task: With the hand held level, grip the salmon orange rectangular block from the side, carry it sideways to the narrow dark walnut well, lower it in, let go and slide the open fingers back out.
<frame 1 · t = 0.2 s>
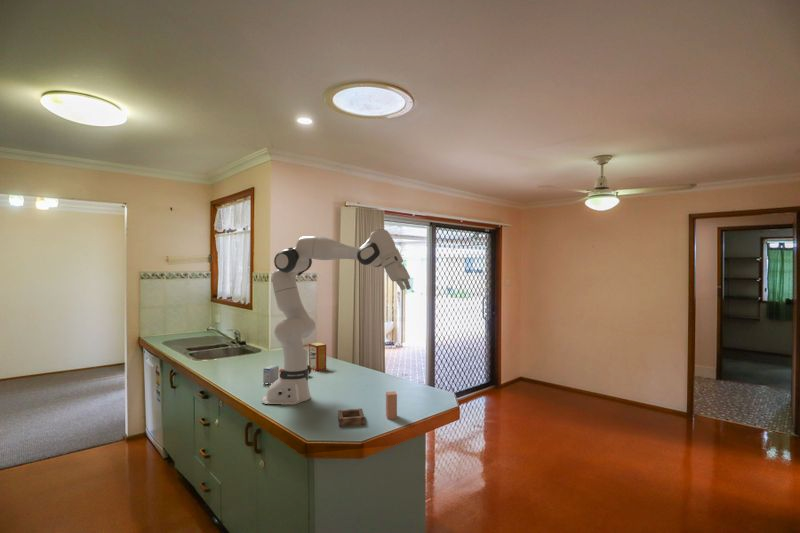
hand: (406, 289, 171), 53 cm above the worktop, tool tilted 25°, fingers open, 8 cm apart
salmon orange rectangular block: (391, 416, 163), on the worktop
medicine box: (271, 383, 213), on the worktop
walnut well: (351, 420, 158), on the worktop
potato: (300, 376, 226), on the worktop
baking soda box: (317, 369, 243), on the worktop
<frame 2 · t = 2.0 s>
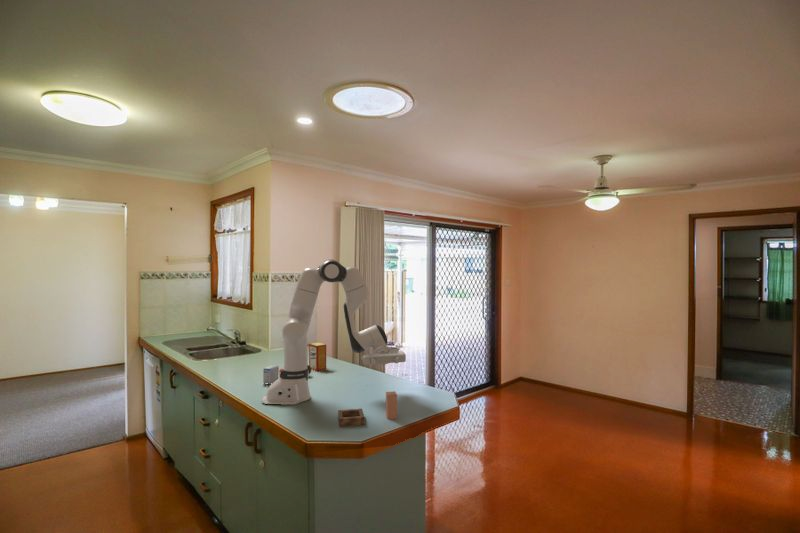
hand: (386, 362, 175), 20 cm above the worktop, tool horizontal, fingers open, 8 cm apart
nothing on the worktop moved.
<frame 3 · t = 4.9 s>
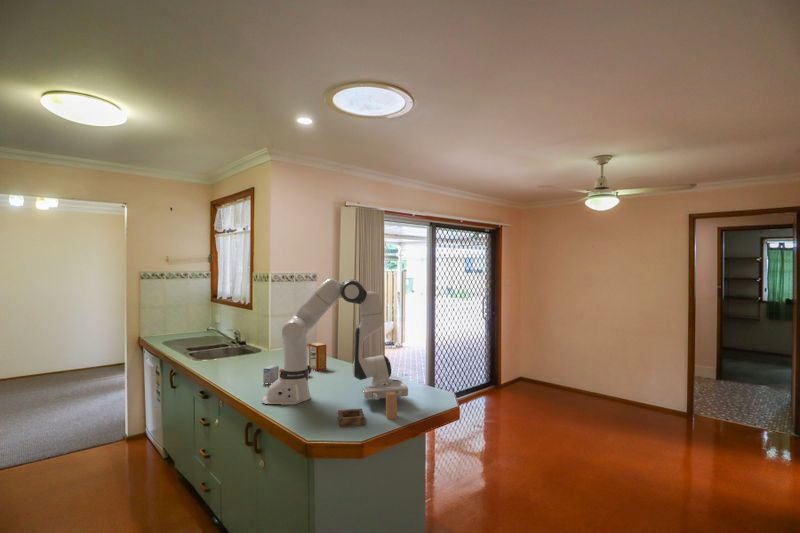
hand: (388, 397, 170), 6 cm above the worktop, tool horizontal, fingers open, 8 cm apart
nothing on the worktop moved.
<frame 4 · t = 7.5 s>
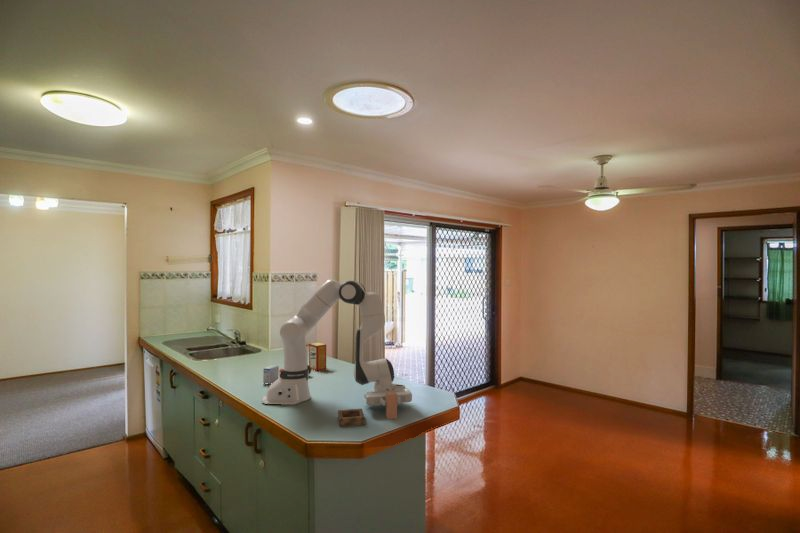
hand: (391, 403, 162), 6 cm above the worktop, tool horizontal, fingers closed on salmon orange rectangular block, 4 cm apart
salmon orange rectangular block: (391, 416, 163), on the worktop, touching gripper
everything else where it was.
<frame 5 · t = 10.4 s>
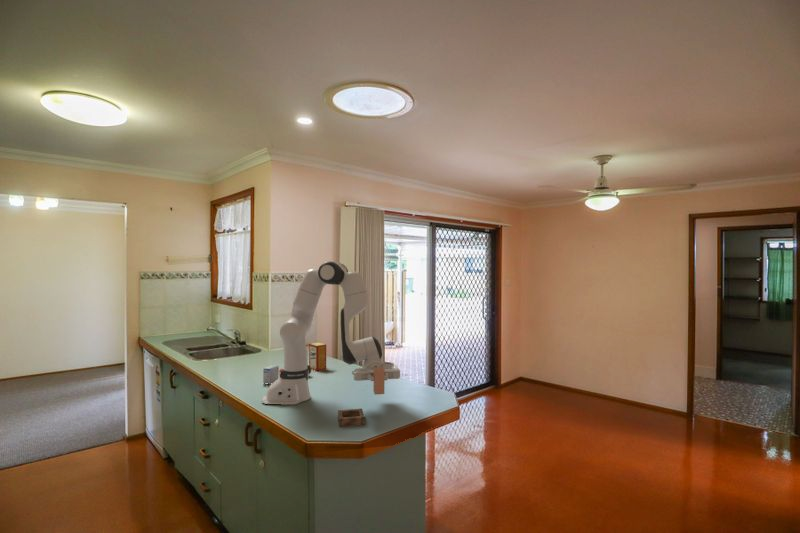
hand: (379, 378, 161), 17 cm above the worktop, tool horizontal, fingers closed on salmon orange rectangular block, 4 cm apart
salmon orange rectangular block: (378, 392, 162), point 11 cm above the worktop, touching gripper
everything else where it was.
when the fingers open (7 cm above the worktop, at t = 13.7 s): salmon orange rectangular block drops 1 cm, resting in walnut well.
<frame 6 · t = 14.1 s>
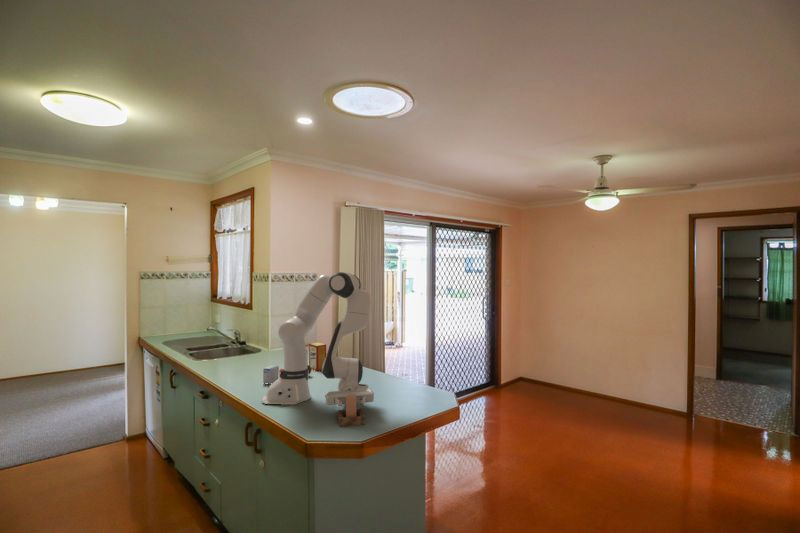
hand: (351, 403, 158), 7 cm above the worktop, tool horizontal, fingers open, 8 cm apart
salmon orange rectangular block: (351, 421, 158), resting in walnut well
everything else where it was.
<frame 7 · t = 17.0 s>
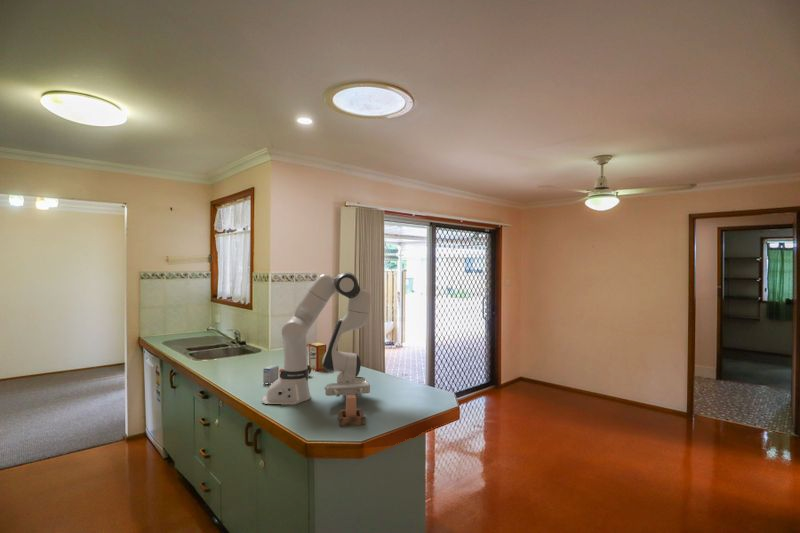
hand: (348, 394, 170), 7 cm above the worktop, tool horizontal, fingers open, 8 cm apart
nothing on the worktop moved.
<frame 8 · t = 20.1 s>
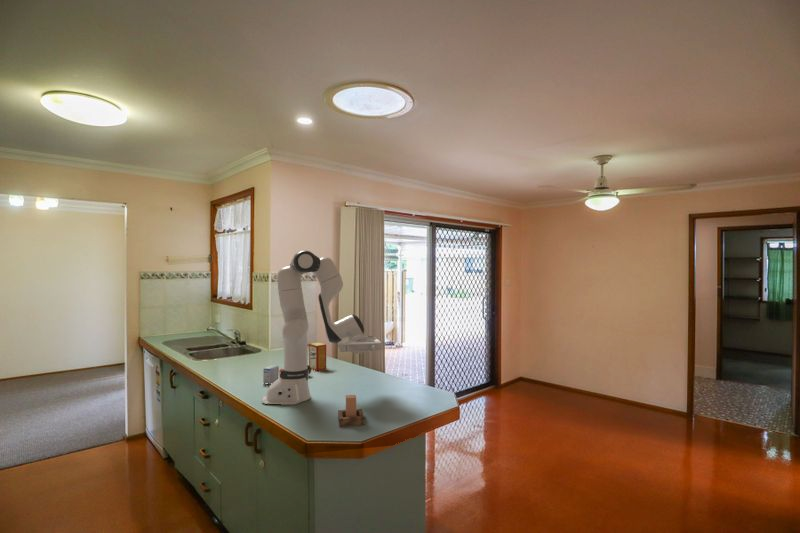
hand: (361, 349, 175), 26 cm above the worktop, tool horizontal, fingers open, 8 cm apart
nothing on the worktop moved.
at the end: salmon orange rectangular block 0.0 cm off-centre on the walnut well, point 0.0 cm above the walnut well's base; salmon orange rectangular block tilted 0°; the gripper is holding nothing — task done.
